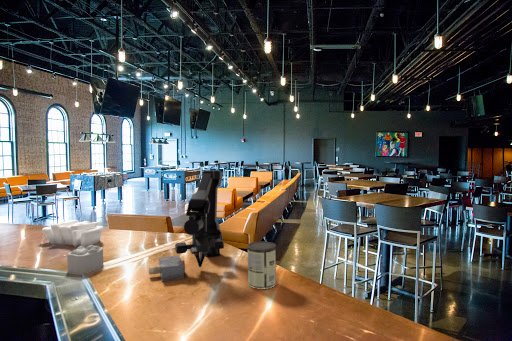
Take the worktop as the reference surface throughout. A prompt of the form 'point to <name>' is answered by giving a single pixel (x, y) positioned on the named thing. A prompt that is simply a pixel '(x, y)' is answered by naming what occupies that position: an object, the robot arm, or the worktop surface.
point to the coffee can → (261, 265)
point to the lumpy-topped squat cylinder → (85, 259)
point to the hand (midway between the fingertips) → (200, 266)
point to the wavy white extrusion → (74, 233)
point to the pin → (158, 269)
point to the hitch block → (171, 268)
